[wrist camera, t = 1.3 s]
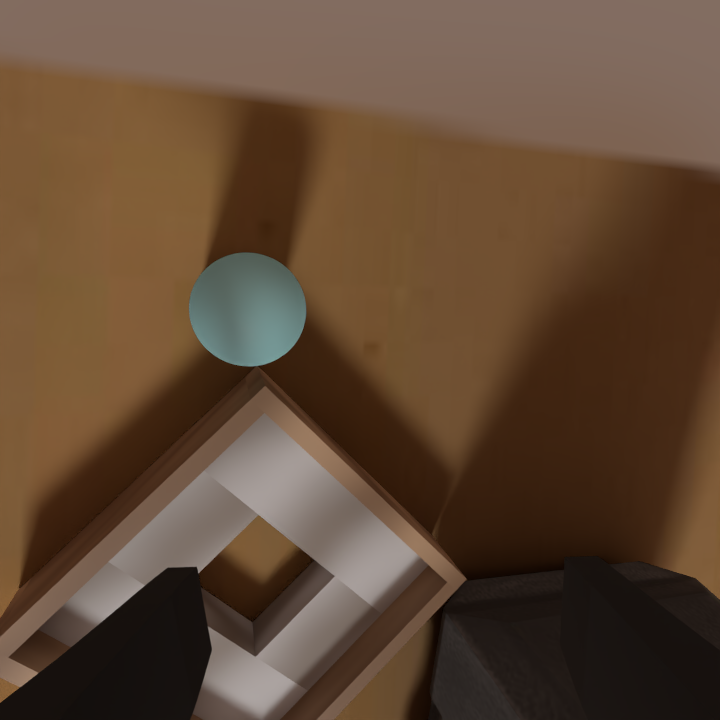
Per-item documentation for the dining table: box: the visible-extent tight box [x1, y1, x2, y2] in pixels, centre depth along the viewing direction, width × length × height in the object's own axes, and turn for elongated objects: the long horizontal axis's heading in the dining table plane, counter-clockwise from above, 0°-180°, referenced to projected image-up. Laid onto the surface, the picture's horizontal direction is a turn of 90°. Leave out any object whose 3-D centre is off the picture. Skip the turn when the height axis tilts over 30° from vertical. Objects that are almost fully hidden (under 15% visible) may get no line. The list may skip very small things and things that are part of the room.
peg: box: [189, 253, 306, 366], centre depth 15 cm, size 3×3×6 cm
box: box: [0, 366, 466, 720], centre depth 19 cm, size 13×13×4 cm
